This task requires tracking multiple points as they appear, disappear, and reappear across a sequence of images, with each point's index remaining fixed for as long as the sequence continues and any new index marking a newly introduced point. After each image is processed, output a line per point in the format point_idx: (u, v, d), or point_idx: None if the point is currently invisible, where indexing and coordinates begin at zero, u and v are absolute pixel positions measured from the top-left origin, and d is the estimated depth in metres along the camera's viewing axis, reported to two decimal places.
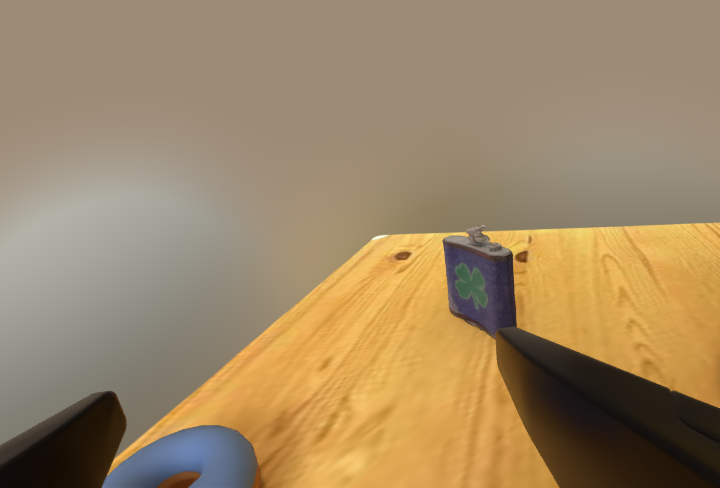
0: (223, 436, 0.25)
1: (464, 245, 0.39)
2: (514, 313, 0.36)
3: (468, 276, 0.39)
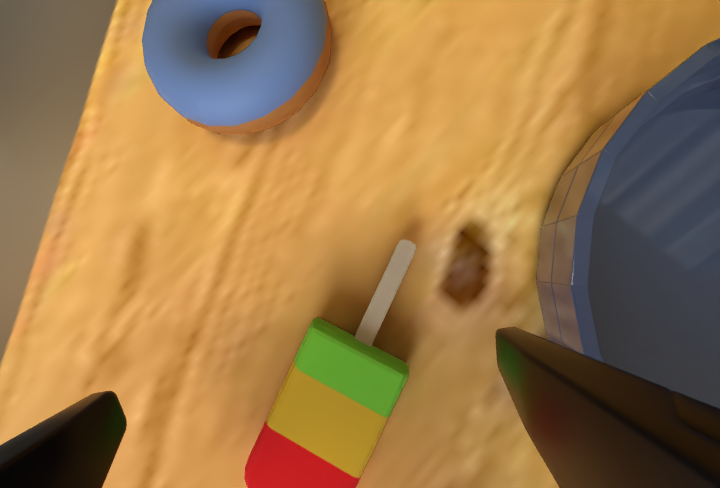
0: None
1: None
2: None
3: None
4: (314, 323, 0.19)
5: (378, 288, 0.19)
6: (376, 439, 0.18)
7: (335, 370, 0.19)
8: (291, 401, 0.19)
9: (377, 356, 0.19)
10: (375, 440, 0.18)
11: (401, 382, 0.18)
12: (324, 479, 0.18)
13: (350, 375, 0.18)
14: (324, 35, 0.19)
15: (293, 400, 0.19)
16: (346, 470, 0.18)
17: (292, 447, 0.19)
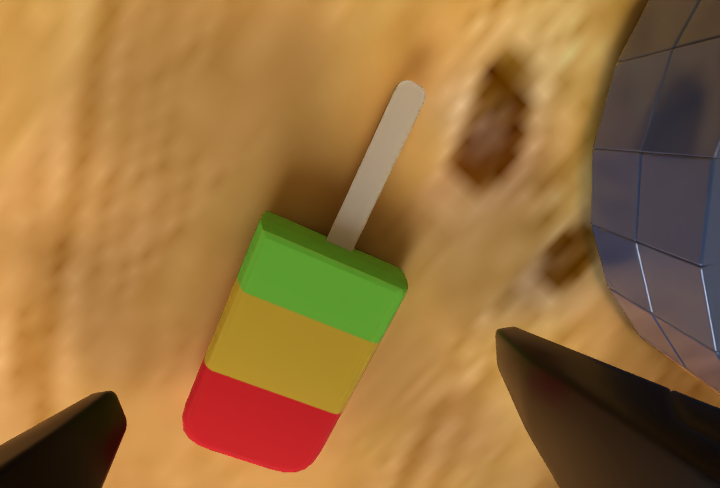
0: None
1: None
2: None
3: None
4: (264, 223, 0.12)
5: (363, 164, 0.12)
6: (364, 369, 0.14)
7: (303, 289, 0.12)
8: (239, 335, 0.13)
9: (365, 266, 0.13)
10: (362, 371, 0.14)
11: (400, 299, 0.13)
12: (296, 421, 0.14)
13: (326, 295, 0.13)
14: None
15: (242, 333, 0.13)
16: (325, 407, 0.14)
17: (247, 390, 0.14)
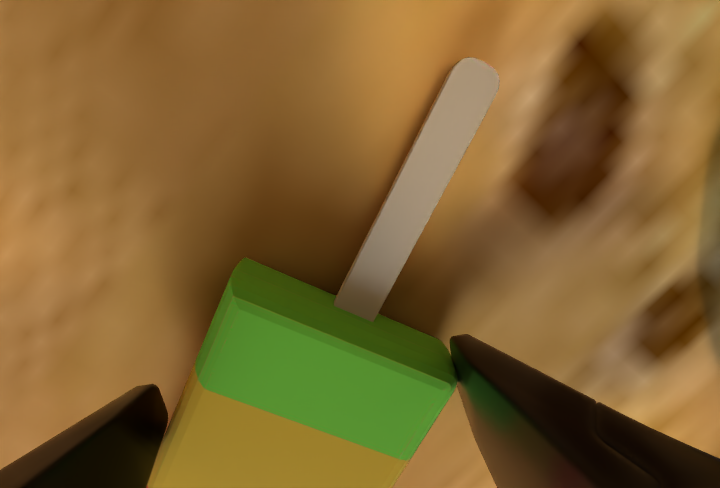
0: None
1: None
2: None
3: None
4: (236, 284, 0.08)
5: (395, 191, 0.08)
6: None
7: (297, 385, 0.08)
8: (198, 449, 0.08)
9: (394, 349, 0.08)
10: None
11: (446, 398, 0.08)
12: None
13: (333, 393, 0.08)
14: None
15: (203, 447, 0.08)
16: None
17: None
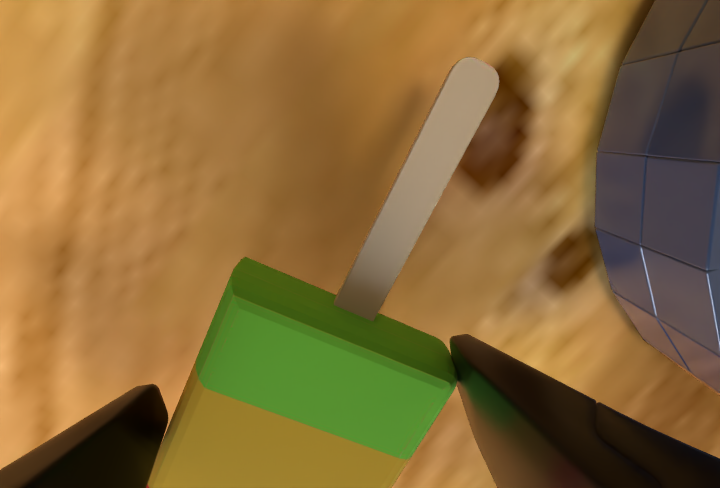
0: None
1: None
2: None
3: None
4: (236, 283, 0.08)
5: (394, 190, 0.08)
6: None
7: (297, 385, 0.08)
8: (199, 448, 0.08)
9: (394, 349, 0.08)
10: None
11: (446, 397, 0.08)
12: None
13: (333, 392, 0.08)
14: None
15: (203, 446, 0.08)
16: None
17: None
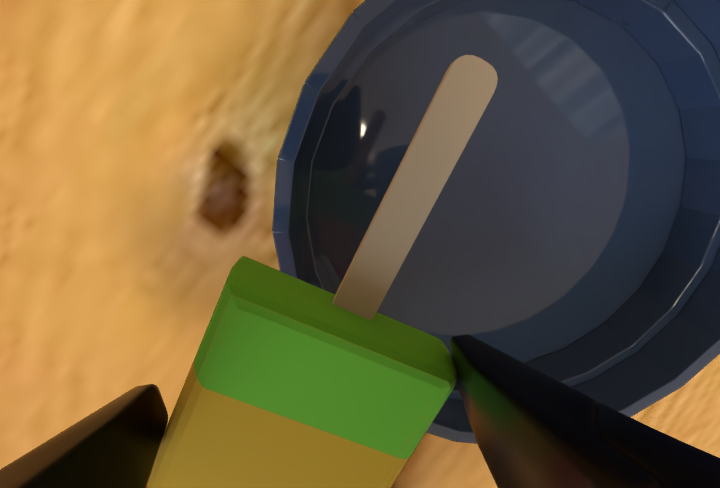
0: None
1: None
2: None
3: None
4: (234, 282, 0.08)
5: (393, 189, 0.08)
6: None
7: (296, 384, 0.08)
8: (197, 448, 0.08)
9: (393, 348, 0.08)
10: None
11: (445, 396, 0.08)
12: None
13: (332, 392, 0.08)
14: None
15: (202, 446, 0.08)
16: None
17: None
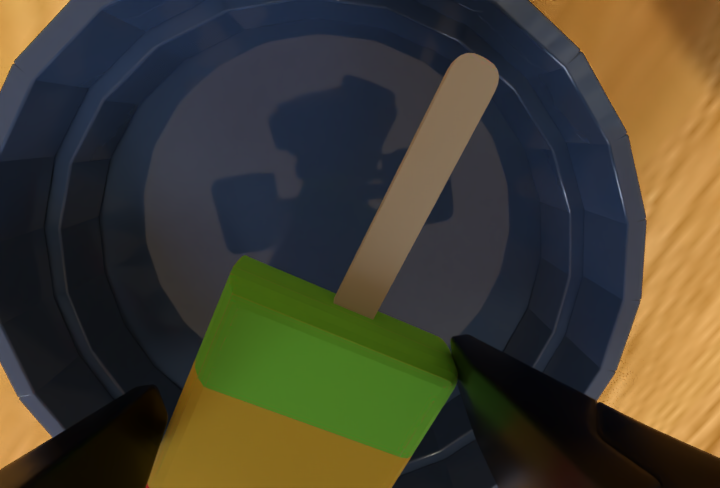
0: None
1: None
2: None
3: None
4: (235, 281, 0.07)
5: (394, 188, 0.08)
6: None
7: (297, 383, 0.08)
8: (199, 448, 0.08)
9: (394, 347, 0.08)
10: None
11: (447, 395, 0.08)
12: None
13: (333, 391, 0.08)
14: None
15: (203, 445, 0.08)
16: None
17: None
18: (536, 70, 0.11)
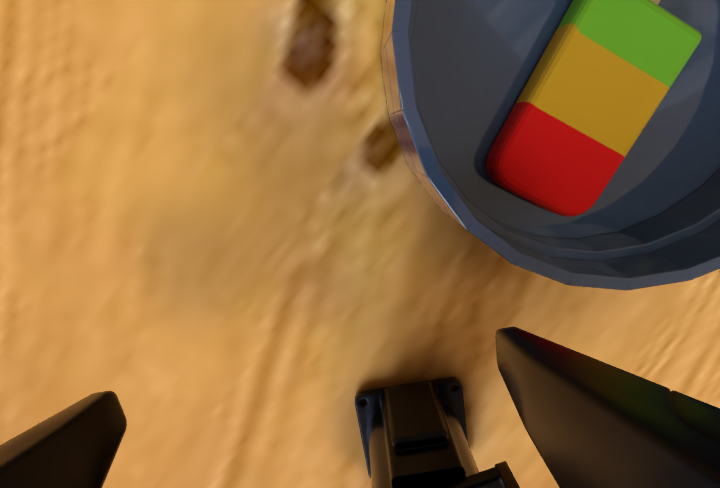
0: None
1: None
2: None
3: None
4: None
5: None
6: None
7: (625, 32, 0.16)
8: (567, 74, 0.16)
9: (673, 15, 0.16)
10: (651, 115, 0.17)
11: (696, 46, 0.16)
12: (591, 160, 0.17)
13: (642, 38, 0.16)
14: None
15: (569, 72, 0.16)
16: (616, 149, 0.17)
17: (560, 128, 0.17)
18: None
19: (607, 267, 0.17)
